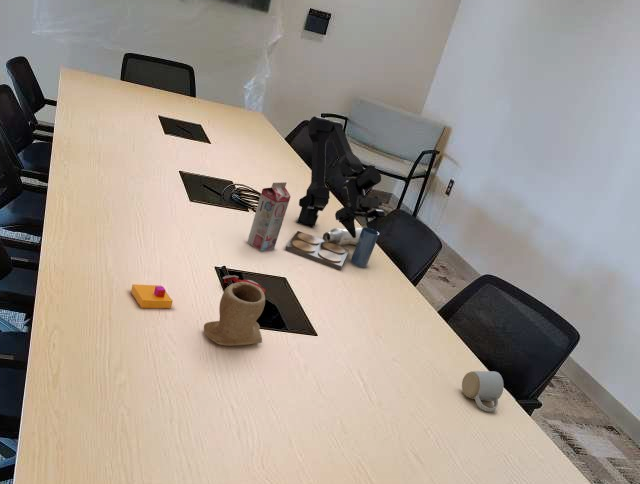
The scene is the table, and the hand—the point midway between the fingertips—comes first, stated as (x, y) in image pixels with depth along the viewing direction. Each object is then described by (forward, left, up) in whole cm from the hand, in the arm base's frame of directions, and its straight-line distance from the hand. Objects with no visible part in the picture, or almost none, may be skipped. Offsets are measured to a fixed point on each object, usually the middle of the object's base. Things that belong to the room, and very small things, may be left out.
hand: (364, 238), depth 233 cm
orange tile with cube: (-44, -84, -9) cm, 95 cm away
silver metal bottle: (-1, +21, -6) cm, 22 cm away
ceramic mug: (+43, -70, -9) cm, 83 cm away
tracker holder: (-26, -58, -9) cm, 64 cm away
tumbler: (+1, -1, -9) cm, 9 cm away
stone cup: (-20, -88, -9) cm, 90 cm away
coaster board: (-14, -4, -9) cm, 17 cm away
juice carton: (-31, -19, -9) cm, 38 cm away
